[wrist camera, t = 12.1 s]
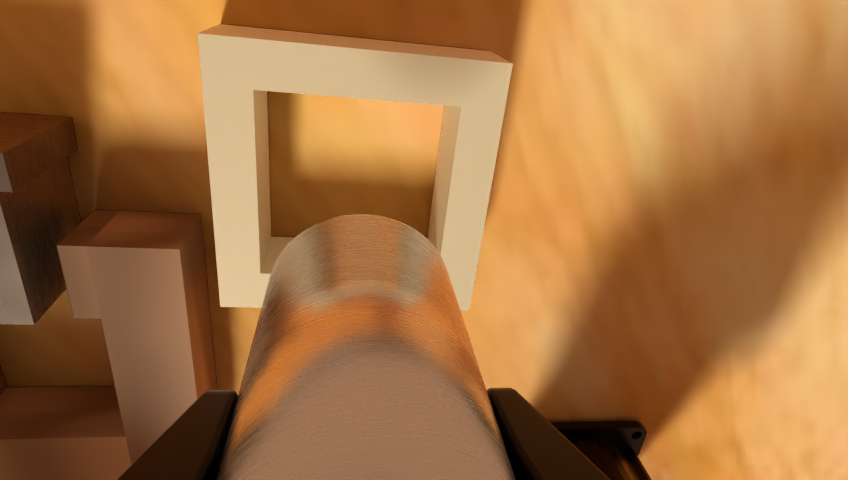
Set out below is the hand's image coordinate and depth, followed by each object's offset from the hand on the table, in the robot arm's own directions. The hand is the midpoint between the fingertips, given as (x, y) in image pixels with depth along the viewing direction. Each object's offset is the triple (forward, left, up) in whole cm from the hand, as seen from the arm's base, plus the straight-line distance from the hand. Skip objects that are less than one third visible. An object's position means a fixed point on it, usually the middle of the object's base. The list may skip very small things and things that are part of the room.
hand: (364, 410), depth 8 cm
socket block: (+10, +7, -11) cm, 16 cm away
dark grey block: (+10, +1, -11) cm, 15 cm away
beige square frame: (0, 0, -11) cm, 11 cm away
